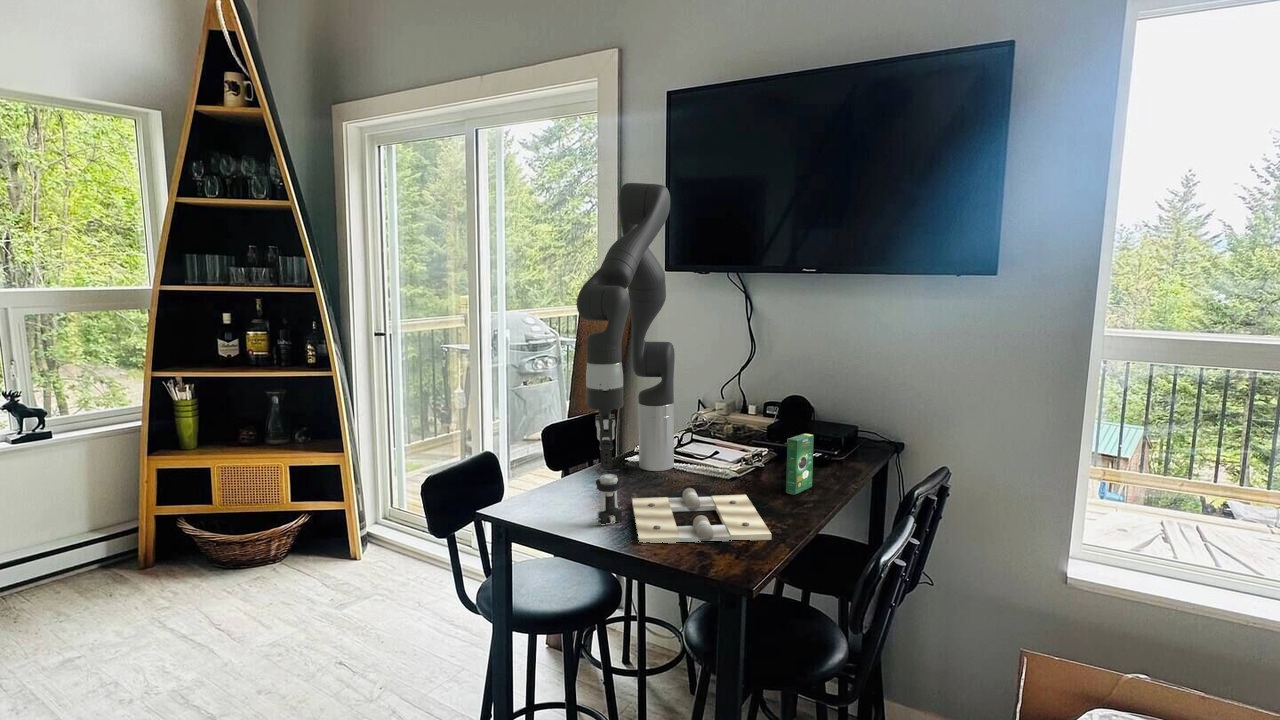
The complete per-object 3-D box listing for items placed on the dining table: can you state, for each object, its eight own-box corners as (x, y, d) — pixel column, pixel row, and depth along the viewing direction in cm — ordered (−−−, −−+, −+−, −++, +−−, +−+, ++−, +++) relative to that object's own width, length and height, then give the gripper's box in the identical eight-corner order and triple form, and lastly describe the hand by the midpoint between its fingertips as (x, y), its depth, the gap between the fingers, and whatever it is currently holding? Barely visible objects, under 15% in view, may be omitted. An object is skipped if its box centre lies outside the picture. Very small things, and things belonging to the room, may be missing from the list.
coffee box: (802, 484, 171) (803, 431, 169) (813, 487, 169) (814, 433, 167) (784, 492, 165) (786, 438, 163) (795, 495, 163) (797, 440, 161)
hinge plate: (632, 503, 159) (632, 489, 158) (746, 499, 161) (746, 486, 160) (638, 544, 136) (638, 528, 136) (771, 539, 138) (771, 524, 137)
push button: (599, 531, 143) (599, 483, 142) (586, 523, 147) (585, 477, 146) (627, 523, 147) (626, 477, 145) (612, 516, 151) (612, 471, 150)
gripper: (586, 379, 150) (587, 453, 152) (585, 391, 136) (587, 472, 138) (621, 378, 150) (622, 452, 152) (624, 390, 136) (625, 471, 138)
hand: (605, 461), depth 145 cm, fingers open, 8 cm apart
